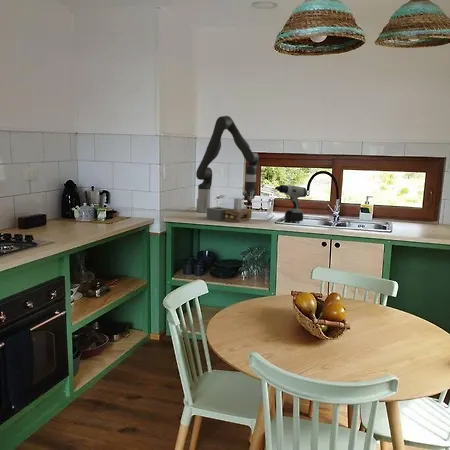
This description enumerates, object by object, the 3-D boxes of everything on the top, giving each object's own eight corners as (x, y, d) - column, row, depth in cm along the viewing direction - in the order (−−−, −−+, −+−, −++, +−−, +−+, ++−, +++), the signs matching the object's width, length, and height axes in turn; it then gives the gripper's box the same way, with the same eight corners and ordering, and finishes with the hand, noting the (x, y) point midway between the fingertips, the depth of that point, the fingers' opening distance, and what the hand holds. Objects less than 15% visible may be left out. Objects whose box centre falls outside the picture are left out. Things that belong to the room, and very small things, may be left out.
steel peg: (233, 220, 327) (234, 198, 325) (236, 219, 330) (237, 198, 327) (237, 221, 325) (238, 199, 322) (240, 220, 328) (241, 198, 325)
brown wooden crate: (242, 216, 338) (242, 208, 337) (251, 218, 333) (251, 209, 332) (224, 219, 323) (224, 210, 322) (233, 221, 318) (233, 212, 317)
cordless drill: (271, 219, 336) (273, 184, 332) (300, 218, 346) (302, 184, 342) (276, 221, 329) (279, 185, 325) (306, 220, 340) (309, 185, 335)
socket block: (235, 218, 336) (236, 208, 335) (249, 220, 328) (249, 210, 327) (224, 220, 327) (224, 209, 326) (238, 222, 319) (238, 212, 318)
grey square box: (206, 218, 332) (206, 208, 331) (218, 216, 341) (218, 206, 340) (219, 220, 324) (219, 210, 323) (231, 218, 333) (231, 208, 332)
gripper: (252, 180, 340) (250, 204, 343) (240, 180, 330) (238, 205, 333) (260, 181, 335) (258, 205, 338) (248, 181, 325) (247, 207, 328)
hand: (248, 205), depth 336 cm, fingers closed
